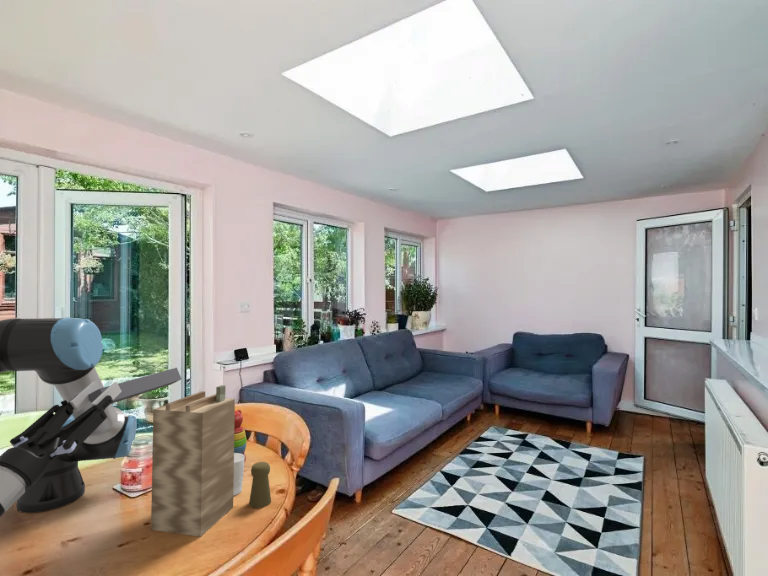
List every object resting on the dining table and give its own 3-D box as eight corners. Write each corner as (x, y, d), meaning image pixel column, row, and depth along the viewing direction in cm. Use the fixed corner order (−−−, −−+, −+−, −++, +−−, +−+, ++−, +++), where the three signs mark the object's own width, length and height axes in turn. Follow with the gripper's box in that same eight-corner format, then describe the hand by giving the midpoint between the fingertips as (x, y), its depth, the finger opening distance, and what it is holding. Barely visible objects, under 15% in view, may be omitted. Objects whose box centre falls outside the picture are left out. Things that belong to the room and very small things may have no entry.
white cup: (234, 499, 116) (235, 464, 116) (210, 496, 118) (210, 462, 118) (249, 486, 124) (249, 454, 124) (225, 484, 126) (226, 451, 126)
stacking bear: (236, 453, 150) (237, 405, 151) (253, 459, 144) (254, 409, 145) (209, 462, 141) (210, 411, 142) (226, 470, 135) (227, 417, 136)
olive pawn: (259, 510, 110) (259, 469, 111) (244, 504, 114) (245, 464, 114) (275, 500, 116) (276, 462, 116) (261, 495, 119) (261, 457, 119)
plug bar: (93, 409, 88) (87, 394, 88) (171, 384, 112) (166, 372, 112) (105, 403, 88) (99, 388, 88) (181, 379, 111) (176, 367, 111)
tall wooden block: (151, 529, 101) (153, 393, 102) (188, 501, 115) (190, 381, 115) (200, 536, 98) (203, 396, 99) (233, 507, 112) (235, 384, 113)
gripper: (-21, 487, 74) (81, 396, 94) (60, 497, 71) (148, 400, 91) (-45, 460, 71) (67, 371, 91) (39, 469, 67) (135, 375, 87)
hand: (107, 386), depth 91 cm, fingers closed on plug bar, 5 cm apart
